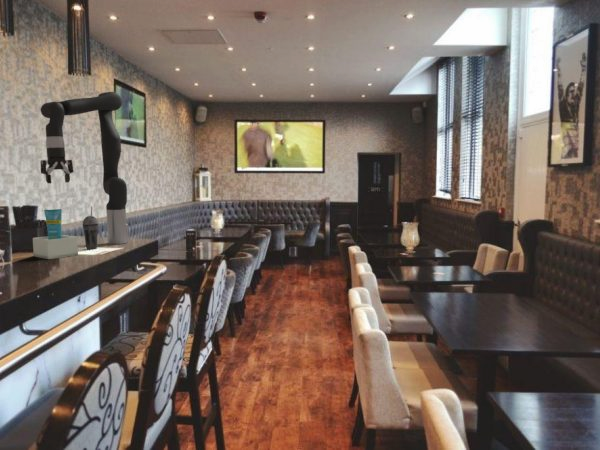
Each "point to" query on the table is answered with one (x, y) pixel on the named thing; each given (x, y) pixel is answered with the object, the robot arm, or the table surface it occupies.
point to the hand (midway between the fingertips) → (58, 182)
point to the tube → (53, 223)
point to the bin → (55, 247)
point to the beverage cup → (90, 231)
